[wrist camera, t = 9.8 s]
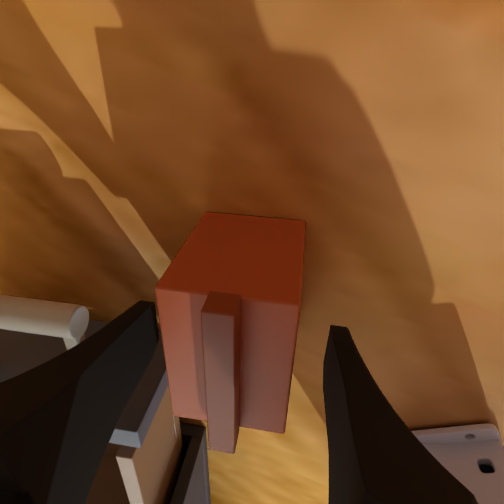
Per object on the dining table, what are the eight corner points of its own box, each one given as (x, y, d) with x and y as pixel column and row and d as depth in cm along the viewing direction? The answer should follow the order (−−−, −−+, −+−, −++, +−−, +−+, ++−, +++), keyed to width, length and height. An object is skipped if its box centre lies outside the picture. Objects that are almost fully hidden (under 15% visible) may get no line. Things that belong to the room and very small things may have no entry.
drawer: (-42, 243, 18) (-175, 316, 13) (177, 268, 17) (119, 359, 12) (45, 433, 27) (-17, 521, 22) (195, 460, 25) (166, 560, 20)
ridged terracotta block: (203, 208, 16) (136, 303, 10) (306, 217, 15) (300, 323, 9) (208, 320, 19) (161, 441, 13) (292, 331, 19) (282, 462, 13)
